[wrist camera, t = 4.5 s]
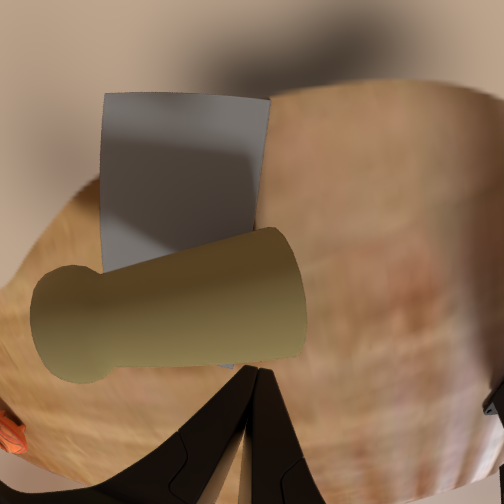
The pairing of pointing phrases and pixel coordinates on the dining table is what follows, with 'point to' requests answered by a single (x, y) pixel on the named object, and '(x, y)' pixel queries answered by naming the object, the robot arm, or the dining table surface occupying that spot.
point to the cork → (173, 310)
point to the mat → (177, 172)
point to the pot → (11, 435)
